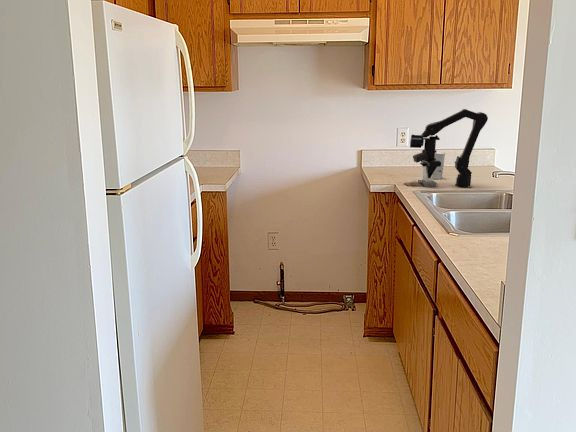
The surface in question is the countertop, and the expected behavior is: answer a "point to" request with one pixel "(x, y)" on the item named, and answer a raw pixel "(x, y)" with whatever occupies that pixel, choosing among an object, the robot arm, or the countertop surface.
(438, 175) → the skincare box
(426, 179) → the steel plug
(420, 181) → the square metal frame
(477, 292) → the countertop surface
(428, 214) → the countertop surface
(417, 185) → the walnut pad
